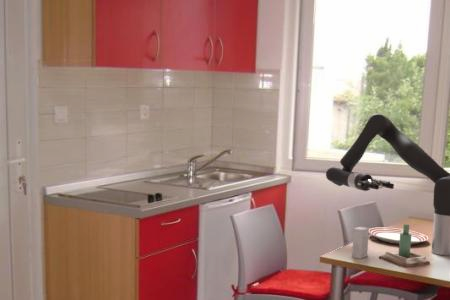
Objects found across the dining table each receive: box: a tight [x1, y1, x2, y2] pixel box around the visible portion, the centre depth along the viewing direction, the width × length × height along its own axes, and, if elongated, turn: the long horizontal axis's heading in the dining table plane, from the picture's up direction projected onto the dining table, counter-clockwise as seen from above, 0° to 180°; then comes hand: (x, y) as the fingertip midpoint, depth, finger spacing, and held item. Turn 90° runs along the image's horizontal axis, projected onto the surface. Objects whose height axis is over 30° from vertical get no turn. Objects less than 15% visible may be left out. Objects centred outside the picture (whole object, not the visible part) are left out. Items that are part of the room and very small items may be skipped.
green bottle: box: [398, 223, 412, 258], centre depth 242 cm, size 4×4×14 cm
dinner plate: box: [369, 226, 429, 245], centre depth 281 cm, size 28×27×3 cm
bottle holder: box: [378, 251, 431, 268], centre depth 243 cm, size 14×14×3 cm
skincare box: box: [351, 226, 370, 260], centre depth 246 cm, size 6×4×12 cm
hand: (385, 186), depth 256 cm, fingers open, 8 cm apart
